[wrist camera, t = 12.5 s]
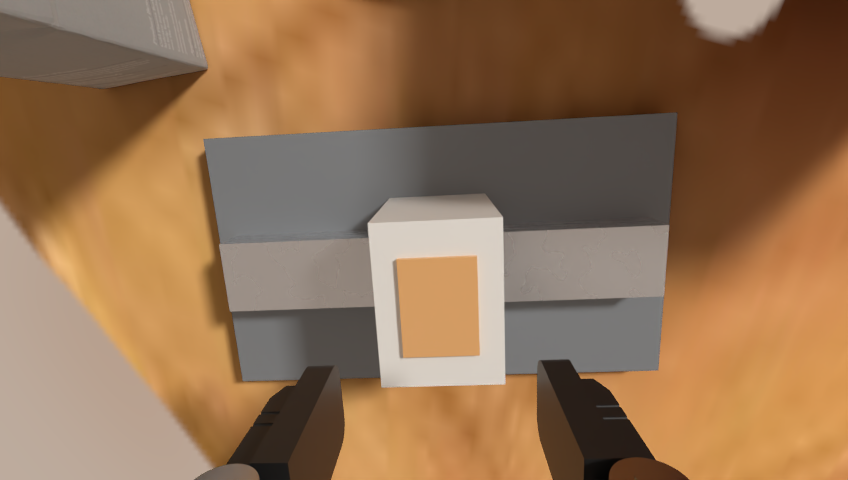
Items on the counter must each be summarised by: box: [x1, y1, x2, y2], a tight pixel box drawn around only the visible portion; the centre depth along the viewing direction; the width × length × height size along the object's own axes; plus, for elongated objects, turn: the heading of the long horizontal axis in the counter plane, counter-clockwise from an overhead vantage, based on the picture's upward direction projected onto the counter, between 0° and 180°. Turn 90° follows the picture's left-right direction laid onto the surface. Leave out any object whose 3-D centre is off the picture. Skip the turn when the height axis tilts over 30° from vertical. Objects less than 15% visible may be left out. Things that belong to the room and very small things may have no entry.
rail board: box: [203, 113, 677, 381], centre depth 24 cm, size 14×24×2 cm, turn 93°
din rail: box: [219, 218, 669, 312], centre depth 23 cm, size 4×22×2 cm, turn 93°
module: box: [368, 193, 505, 387], centre depth 20 cm, size 7×5×7 cm
